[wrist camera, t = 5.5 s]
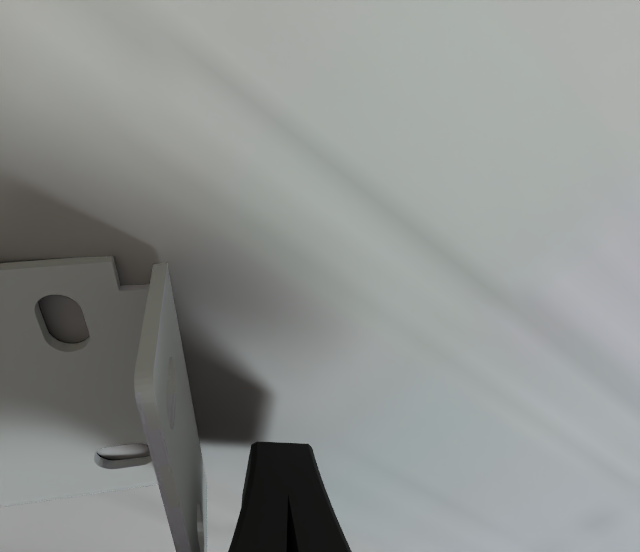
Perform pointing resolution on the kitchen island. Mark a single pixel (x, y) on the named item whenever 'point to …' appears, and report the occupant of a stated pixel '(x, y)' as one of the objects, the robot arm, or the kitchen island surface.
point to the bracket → (97, 392)
